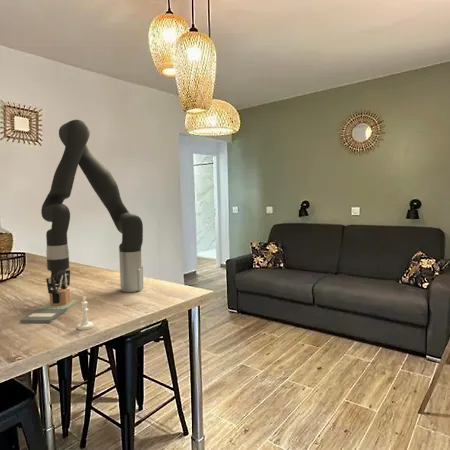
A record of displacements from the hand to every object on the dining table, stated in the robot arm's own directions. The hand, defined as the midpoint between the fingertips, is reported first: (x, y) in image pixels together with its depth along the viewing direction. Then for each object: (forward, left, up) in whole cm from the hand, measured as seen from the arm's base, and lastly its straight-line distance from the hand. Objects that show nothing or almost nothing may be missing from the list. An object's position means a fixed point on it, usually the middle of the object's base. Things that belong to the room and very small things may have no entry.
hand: (60, 300), depth 132 cm
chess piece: (-18, +20, -2) cm, 27 cm away
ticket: (0, +11, -2) cm, 12 cm away
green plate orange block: (0, +1, -2) cm, 2 cm away
